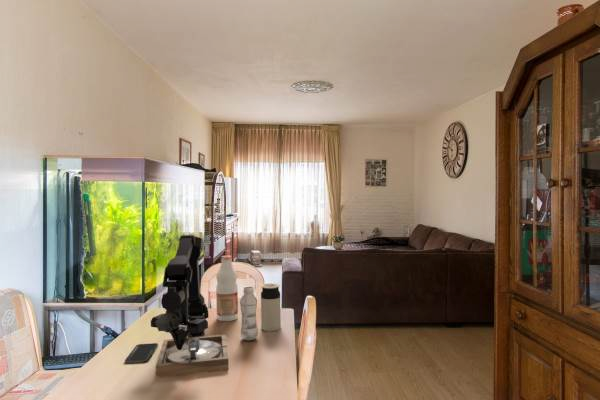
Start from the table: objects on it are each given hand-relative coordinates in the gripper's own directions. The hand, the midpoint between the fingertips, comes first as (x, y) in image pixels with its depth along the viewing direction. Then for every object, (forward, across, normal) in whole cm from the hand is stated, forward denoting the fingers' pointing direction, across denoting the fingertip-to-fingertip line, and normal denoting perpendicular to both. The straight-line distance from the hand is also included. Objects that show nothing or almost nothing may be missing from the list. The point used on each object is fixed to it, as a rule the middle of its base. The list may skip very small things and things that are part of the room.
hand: (179, 349), depth 128 cm
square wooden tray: (+6, 0, +7) cm, 10 cm away
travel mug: (+6, +12, +43) cm, 45 cm away
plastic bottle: (+6, +9, +30) cm, 31 cm away
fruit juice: (+6, -13, +48) cm, 50 cm away
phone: (+7, -20, +4) cm, 21 cm away
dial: (+4, 0, +7) cm, 9 cm away
